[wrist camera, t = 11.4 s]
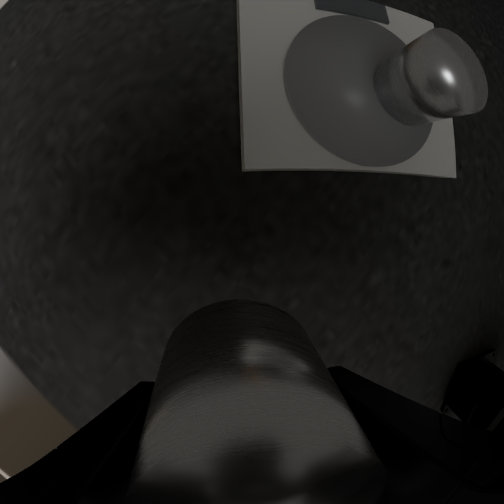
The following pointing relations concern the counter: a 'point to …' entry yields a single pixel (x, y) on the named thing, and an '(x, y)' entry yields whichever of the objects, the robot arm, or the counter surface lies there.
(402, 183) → the counter surface
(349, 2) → the scale
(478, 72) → the spacer
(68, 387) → the counter surface
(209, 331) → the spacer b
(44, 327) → the counter surface
